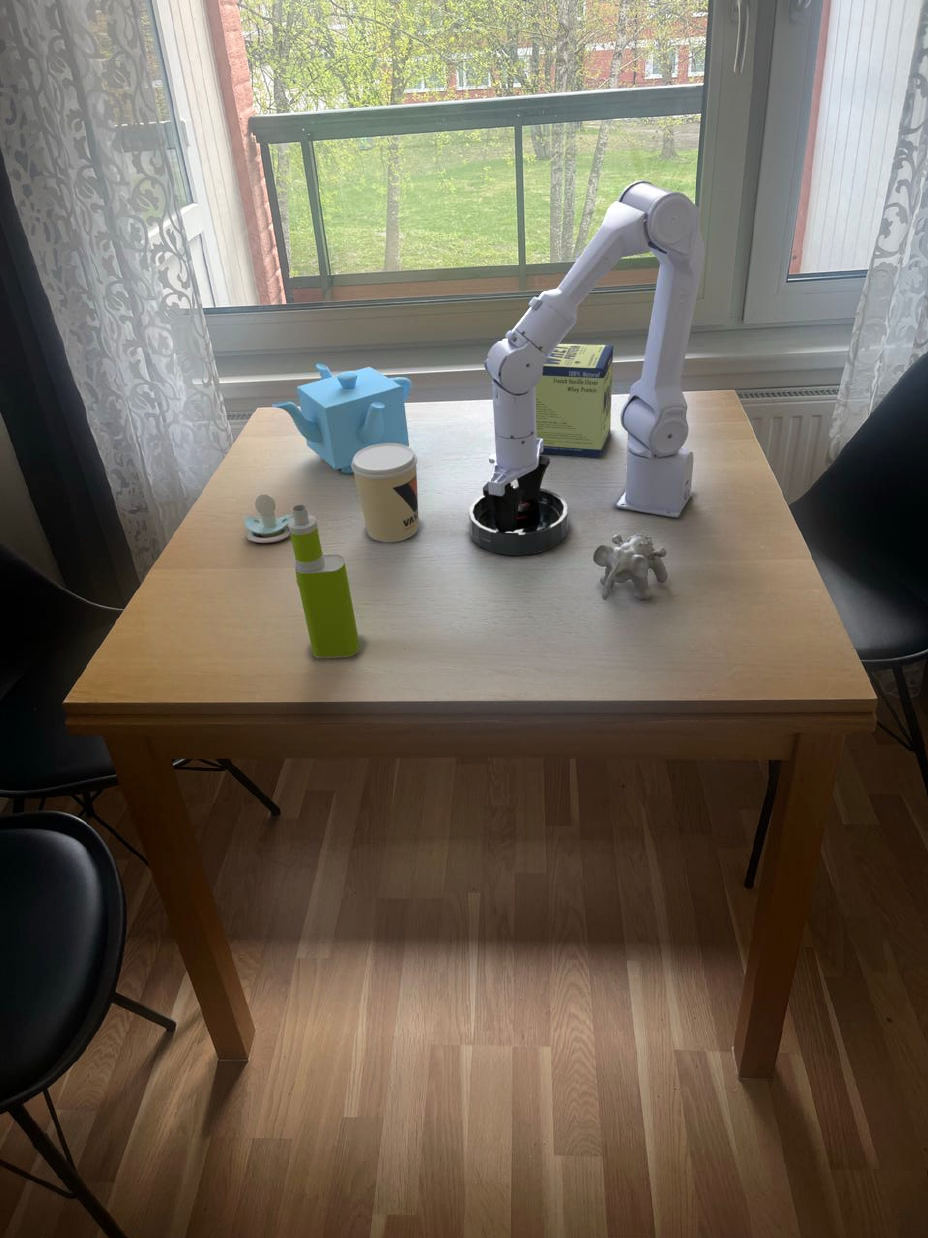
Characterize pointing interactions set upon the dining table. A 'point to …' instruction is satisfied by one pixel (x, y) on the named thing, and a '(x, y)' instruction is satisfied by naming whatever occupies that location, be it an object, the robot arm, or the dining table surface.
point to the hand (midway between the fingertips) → (519, 516)
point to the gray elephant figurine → (631, 564)
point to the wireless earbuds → (525, 515)
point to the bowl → (524, 539)
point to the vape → (322, 590)
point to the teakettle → (350, 413)
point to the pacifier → (267, 522)
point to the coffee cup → (387, 490)
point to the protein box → (575, 400)
